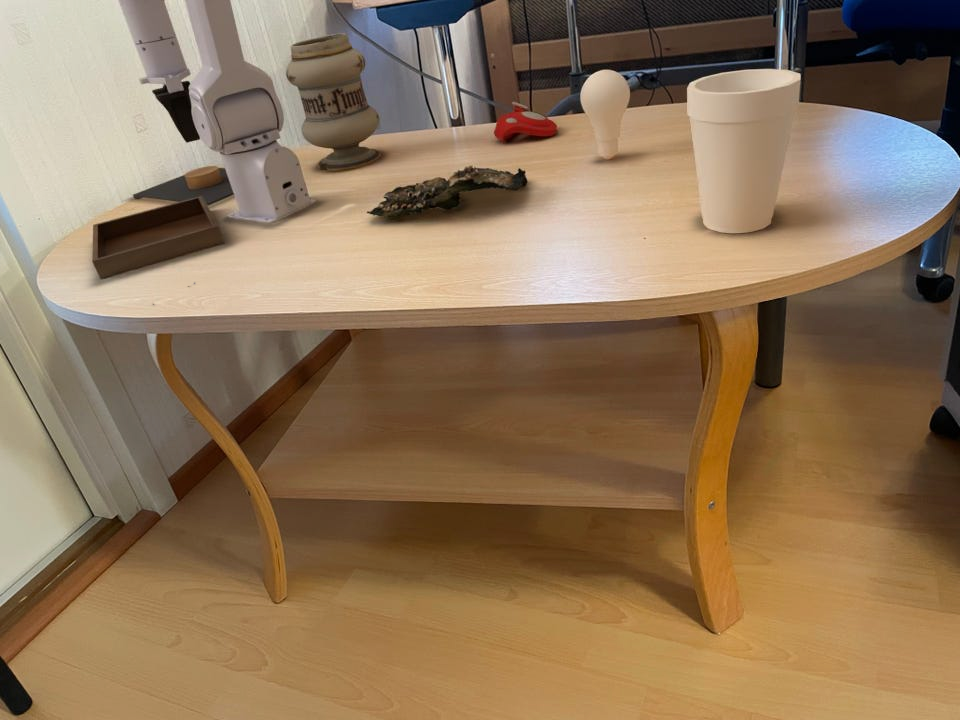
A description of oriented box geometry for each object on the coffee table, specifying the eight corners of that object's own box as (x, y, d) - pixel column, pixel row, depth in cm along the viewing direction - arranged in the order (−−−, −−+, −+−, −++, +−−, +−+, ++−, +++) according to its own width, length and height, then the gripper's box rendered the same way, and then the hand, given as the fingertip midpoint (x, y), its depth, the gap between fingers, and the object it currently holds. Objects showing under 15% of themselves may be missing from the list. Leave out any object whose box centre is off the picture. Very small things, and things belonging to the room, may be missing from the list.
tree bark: (350, 201, 79) (379, 153, 91) (367, 249, 82) (393, 197, 94) (515, 171, 75) (523, 126, 87) (525, 223, 78) (532, 173, 90)
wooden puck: (229, 179, 110) (224, 166, 109) (201, 190, 107) (197, 177, 106) (209, 177, 113) (205, 165, 112) (182, 188, 110) (177, 175, 108)
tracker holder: (572, 123, 106) (519, 123, 100) (564, 151, 108) (512, 153, 103) (526, 96, 113) (475, 95, 108) (520, 124, 116) (470, 124, 111)
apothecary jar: (296, 170, 111) (261, 48, 102) (353, 148, 118) (326, 32, 109) (344, 176, 103) (311, 45, 94) (402, 152, 111) (377, 28, 101)
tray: (225, 246, 85) (218, 225, 83) (101, 282, 80) (92, 261, 79) (208, 213, 98) (201, 195, 96) (101, 243, 93) (92, 224, 92)
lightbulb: (639, 152, 92) (636, 63, 86) (621, 167, 88) (617, 75, 82) (596, 151, 95) (591, 65, 90) (577, 165, 91) (570, 77, 85)
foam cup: (757, 246, 63) (766, 96, 56) (668, 230, 69) (666, 92, 62) (806, 211, 68) (820, 69, 61) (719, 198, 74) (723, 68, 67)
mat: (282, 175, 109) (281, 172, 109) (209, 207, 100) (207, 203, 100) (206, 170, 120) (205, 166, 120) (134, 198, 111) (132, 194, 111)
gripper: (124, 43, 104) (159, 136, 111) (128, 48, 92) (167, 151, 99) (173, 34, 106) (204, 125, 113) (182, 37, 94) (216, 139, 101)
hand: (190, 136), depth 106 cm, fingers open, 7 cm apart
